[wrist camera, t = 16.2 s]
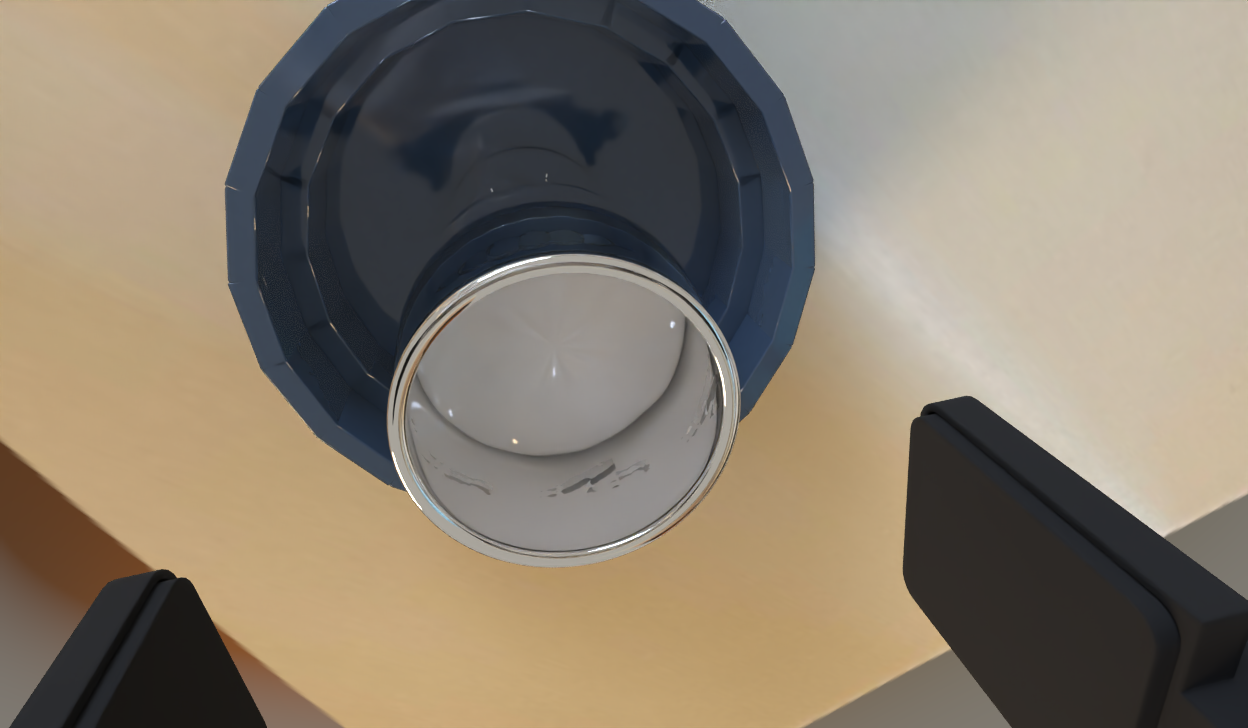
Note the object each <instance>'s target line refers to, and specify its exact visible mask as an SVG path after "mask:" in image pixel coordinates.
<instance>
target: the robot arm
mask: <svg viewBox="0 0 1248 728" xmlns="http://www.w3.org/2000/svg"><path fill="white" fill-rule="evenodd" d="M903 576H904V580H905V583H906V586H907V589H908V591H909V593H910V594H911V596H912V598H913V599H914V600H915V602H916V603H917V604H918V605H919V607H920V608H921V609H922V611H923V612H924V613H925V615H926V616H927V617H928V619H929V620H930V621H931V623H932V624H933V625H934V626H935V628H936V629H937V630H938V632H939V633H940V634H941V636H942V637H943V638H944V640H945V641H946V642H947V643H948V645H949V646H950V647H951V649H952V650H953V651H954V653H955V654H956V655H957V657H958V658H959V659H960V660H961V662H962V663H963V664H964V665H965V667H966V668H967V670H968V671H969V672H970V674H971V675H972V676H973V677H974V679H975V680H976V681H977V683H978V684H979V685H980V687H981V688H982V689H983V691H984V692H985V693H986V694H987V696H988V697H989V698H990V699H991V701H992V702H993V703H994V705H995V706H996V707H997V709H998V710H999V711H1000V713H1001V714H1002V715H1003V717H1004V718H1005V719H1006V721H1007V722H1008V723H1009V724H1010V726H1011V727H1012V728H1248V600H1246V599H1245V598H1244V597H1242V596H1241V595H1240V594H1238V593H1237V592H1236V591H1234V590H1233V589H1232V588H1230V587H1229V586H1228V585H1226V584H1225V583H1223V582H1222V581H1221V580H1219V579H1218V578H1217V577H1215V576H1214V575H1213V574H1211V573H1210V572H1209V571H1207V570H1206V569H1205V568H1203V567H1202V566H1201V565H1199V564H1198V563H1197V562H1195V561H1194V560H1192V559H1191V558H1190V557H1188V556H1187V555H1186V554H1184V553H1183V552H1182V551H1180V550H1179V549H1178V548H1176V547H1175V546H1174V545H1172V544H1171V543H1170V542H1168V541H1167V540H1166V539H1164V538H1163V537H1162V536H1160V535H1159V534H1157V533H1156V532H1155V531H1153V530H1152V529H1151V528H1149V527H1148V526H1147V525H1145V524H1144V523H1143V522H1141V521H1140V520H1139V519H1137V518H1136V517H1135V516H1133V515H1132V514H1131V513H1129V512H1128V511H1126V510H1125V509H1124V508H1122V507H1121V506H1120V505H1118V504H1117V503H1116V502H1114V501H1113V500H1112V499H1110V498H1109V497H1108V496H1106V495H1105V494H1104V493H1102V492H1101V491H1100V490H1098V489H1097V488H1095V487H1094V486H1093V485H1091V484H1090V483H1089V482H1087V481H1086V480H1085V479H1083V478H1082V477H1081V476H1079V475H1078V474H1077V473H1075V472H1074V471H1073V470H1071V469H1070V468H1069V467H1067V466H1066V465H1064V464H1063V463H1062V462H1060V461H1059V460H1058V459H1056V458H1055V457H1054V456H1052V455H1051V454H1050V453H1048V452H1047V451H1046V450H1044V449H1043V448H1042V447H1040V446H1039V445H1038V444H1036V443H1035V442H1033V441H1032V440H1031V439H1029V438H1028V437H1027V436H1025V435H1024V434H1023V433H1021V432H1020V431H1019V430H1017V429H1016V428H1015V427H1013V426H1012V425H1011V424H1009V423H1008V422H1007V421H1005V420H1004V419H1002V418H1001V417H1000V416H998V415H997V414H996V413H994V412H993V411H992V410H990V409H989V408H988V407H986V406H985V405H984V404H982V403H981V402H980V401H978V400H977V399H975V398H973V397H971V396H963V397H959V398H954V399H949V400H945V401H940V402H935V403H931V404H928V405H926V406H924V408H923V410H922V412H921V416H920V417H917V418H915V419H914V420H913V422H912V424H911V431H910V449H909V467H908V485H907V502H906V520H905V538H904V556H903ZM9 728H267V726H266V724H265V721H264V719H263V717H262V716H261V714H260V712H259V710H258V708H257V706H256V704H255V702H254V700H253V698H252V696H251V694H250V693H249V691H248V689H247V687H246V685H245V683H244V681H243V679H242V677H241V675H240V673H239V672H238V670H237V668H236V666H235V664H234V662H233V660H232V658H231V656H230V654H229V652H228V651H227V649H226V647H225V645H224V643H223V641H222V639H221V637H220V635H219V633H218V632H217V629H216V628H215V626H214V624H213V622H212V620H211V618H210V616H209V614H208V612H207V610H206V608H205V607H204V605H203V603H202V601H201V599H200V597H199V595H198V593H197V591H196V589H195V587H194V586H193V584H192V583H191V581H190V580H188V579H187V578H182V577H181V578H176V576H175V575H174V574H173V573H172V572H170V571H169V570H164V569H161V570H156V571H152V572H147V573H143V574H139V575H133V576H129V577H124V578H120V579H116V580H113V581H111V582H108V583H107V585H106V586H105V587H104V588H103V589H102V590H101V592H100V593H99V595H98V596H97V598H96V599H95V601H94V602H93V604H92V605H91V607H90V608H89V610H88V611H87V613H86V614H85V616H84V617H83V619H82V620H81V622H80V623H79V624H78V626H77V628H76V629H75V630H74V632H73V633H72V635H71V636H70V638H69V639H68V641H67V642H66V644H65V645H64V647H63V649H62V650H61V651H60V653H59V654H58V656H57V657H56V659H55V660H54V662H53V663H52V665H51V666H50V668H49V669H48V671H47V672H46V674H45V675H44V677H43V678H42V680H41V681H40V683H39V684H38V686H37V687H36V689H35V690H34V692H33V693H32V694H31V696H30V698H29V699H28V701H27V702H26V704H25V705H24V706H23V708H22V709H21V711H20V712H19V714H18V715H17V717H16V719H15V720H14V721H13V723H12V724H11V726H10V727H9Z"/></svg>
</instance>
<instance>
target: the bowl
mask: <svg viewBox="0 0 1248 728" xmlns="http://www.w3.org/2000/svg"><path fill="white" fill-rule="evenodd" d="M258 88H259V89H257V90H256V93H255V95H254V98H253V101H252V104H251V107H250V110H249V113H248V116H247V119H246V122H245V125H244V128H243V131H242V134H241V137H240V140H239V143H238V146H237V149H236V152H235V155H234V158H233V161H232V164H231V166H230V169H229V172H228V175H227V178H226V181H225V186H226V187H225V210H226V240H227V270H228V281H229V283H228V286H229V289H230V291H231V294H232V296H233V299H234V301H235V304H236V306H237V309H238V312H239V314H240V317H241V319H242V322H243V324H244V327H245V329H246V332H247V335H248V337H249V340H250V342H251V345H252V347H253V350H254V352H255V355H256V358H257V360H258V363H259V365H260V368H261V370H262V371H263V373H264V374H265V375H266V376H267V378H268V379H269V380H270V381H271V382H272V384H273V385H274V386H275V387H276V389H277V390H278V391H279V392H280V393H281V395H282V396H283V397H284V398H285V399H286V401H287V402H288V403H289V404H290V406H291V407H292V408H293V409H294V410H295V412H296V413H297V414H298V415H299V416H300V418H301V419H302V420H303V421H304V423H305V424H306V425H307V426H308V427H309V429H310V430H311V431H312V432H313V433H314V435H315V436H316V437H317V438H319V439H320V440H321V441H322V442H324V443H325V444H327V445H328V446H330V447H331V448H333V449H334V450H336V451H337V452H339V453H340V454H342V455H343V456H345V457H346V458H348V459H349V460H351V461H352V462H354V463H355V464H357V465H358V466H360V467H361V468H363V469H364V470H366V471H367V472H369V473H370V474H372V475H373V476H375V477H376V478H378V479H379V480H381V481H382V482H384V483H385V484H387V485H390V486H391V487H394V488H397V489H400V490H403V491H406V489H405V487H404V486H403V484H402V482H401V480H400V477H399V475H398V473H397V471H396V468H395V465H394V462H393V459H392V455H391V452H390V447H389V442H388V434H387V405H388V397H389V392H390V387H391V383H392V379H393V364H394V355H395V346H396V338H397V331H398V327H399V322H400V318H401V313H402V309H403V305H404V301H405V297H406V294H407V291H408V289H409V286H410V284H411V281H412V279H413V277H414V275H415V272H416V270H417V268H418V266H419V263H420V261H421V259H422V257H423V256H424V254H425V252H426V250H427V249H428V247H429V246H430V244H431V243H432V242H433V240H434V239H435V238H436V236H437V235H438V234H439V233H440V232H441V231H442V230H443V229H444V227H445V226H446V218H447V212H448V208H449V205H450V202H451V199H452V197H453V195H454V193H455V191H456V189H457V187H458V186H459V184H460V183H461V181H462V180H463V179H464V178H465V176H466V175H467V174H468V173H469V172H470V171H471V170H472V169H473V168H474V167H475V166H477V165H478V164H479V163H481V162H482V161H484V160H485V159H487V158H489V157H491V156H493V155H495V154H498V153H501V152H504V151H507V150H512V149H519V148H538V149H544V150H549V151H552V152H555V153H558V154H561V155H563V156H565V157H567V158H569V159H571V160H572V161H574V162H575V163H577V164H578V165H580V166H581V167H582V168H583V169H584V170H585V171H587V172H588V173H589V175H590V176H591V177H592V178H593V179H594V180H595V182H596V183H597V184H598V186H599V188H600V189H601V191H602V193H603V195H604V196H605V197H607V198H609V199H611V200H613V201H615V202H617V203H618V204H620V205H622V206H623V207H625V208H626V209H628V210H629V211H631V212H632V213H633V214H635V215H636V216H637V217H638V218H639V219H640V220H642V221H643V222H644V223H645V224H646V225H647V226H648V227H649V228H650V229H651V230H652V231H653V232H654V233H655V234H656V235H657V236H658V237H659V238H660V239H661V240H662V241H663V242H664V243H665V244H666V246H667V247H668V248H669V249H670V251H671V252H672V253H673V255H674V256H675V257H676V259H677V260H678V262H679V263H680V265H681V266H682V267H683V269H684V270H685V272H686V273H687V275H688V276H689V278H690V279H691V281H692V283H693V285H694V286H695V288H696V290H697V292H698V294H699V295H700V297H701V299H702V301H703V303H704V304H705V306H706V308H707V310H708V312H709V314H710V316H711V317H712V318H713V320H714V321H715V323H716V324H717V326H718V327H719V329H720V330H721V332H722V334H723V335H724V337H725V339H726V341H727V343H728V345H729V348H730V350H731V353H732V356H733V358H734V362H735V365H736V369H737V373H738V378H739V385H740V401H741V404H740V419H739V422H740V421H741V420H742V419H744V418H745V417H746V416H747V415H748V414H749V412H750V411H751V410H752V409H753V407H754V405H755V404H756V402H757V401H758V399H759V398H760V396H761V394H762V393H763V391H764V390H765V388H766V387H767V385H768V384H769V382H770V380H771V379H772V377H773V376H774V374H775V373H776V371H777V369H778V368H779V366H780V365H781V363H782V362H783V360H784V358H785V357H786V355H787V354H788V352H789V351H790V349H791V347H792V346H791V345H793V343H794V339H795V336H796V332H797V329H798V325H799V322H800V318H801V315H802V312H803V308H804V305H805V301H806V298H807V294H808V291H809V287H810V284H811V281H812V277H813V274H814V270H815V268H814V267H815V237H814V184H813V177H812V174H811V172H810V169H809V166H808V163H807V160H806V157H805V154H804V151H803V148H802V145H801V142H800V140H799V137H798V134H797V131H796V128H795V125H794V122H793V119H792V116H791V113H790V110H789V108H788V105H787V102H786V99H785V97H784V95H783V93H782V92H781V90H780V89H779V88H778V86H777V85H776V84H775V83H774V81H773V80H772V79H771V77H770V76H769V75H768V74H767V72H766V71H765V70H764V68H763V67H762V66H761V64H760V63H759V62H758V61H757V59H756V58H755V57H754V55H753V54H752V53H751V52H750V50H749V49H748V48H747V46H746V45H745V44H744V42H743V41H742V40H741V39H740V37H739V36H738V35H737V33H736V32H735V31H734V30H733V28H732V27H731V26H730V24H729V23H728V22H727V20H725V19H724V18H723V17H722V16H720V15H719V14H717V13H716V12H714V11H713V10H711V9H709V8H708V7H706V6H705V5H703V4H702V3H700V2H699V1H697V0H335V1H333V2H332V3H330V4H328V5H327V7H325V8H324V9H323V10H322V11H321V12H320V13H319V15H318V16H317V17H316V18H315V19H314V21H313V22H312V23H311V24H310V25H309V27H308V28H307V29H306V30H305V31H304V33H303V34H302V35H301V36H300V37H299V39H298V40H297V41H296V42H295V43H294V45H293V46H292V47H291V48H290V49H289V50H288V52H287V53H286V54H285V55H284V56H283V58H282V59H281V60H280V61H279V62H278V64H277V65H276V66H275V67H274V68H273V70H272V71H271V72H270V73H269V74H268V76H267V77H266V78H265V79H264V80H263V82H262V83H261V84H260V85H259V87H258ZM406 492H407V491H406Z"/></svg>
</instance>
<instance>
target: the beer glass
mask: <svg viewBox="0 0 1248 728" xmlns="http://www.w3.org/2000/svg"><path fill="white" fill-rule="evenodd" d="M740 404H741V401H740V385H739V378H738V373H737V369H736V365H735V362H734V358H733V356H732V353H731V350H730V348H729V345H728V343H727V341H726V339H725V337H724V335H723V334H722V332H721V330H720V329H719V327H718V326H717V324H716V323H715V321H714V320H713V318H712V317H711V316H710V314H709V312H708V310H707V308H706V306H705V304H704V303H703V301H702V299H701V297H700V295H699V294H698V292H697V290H696V288H695V286H694V285H693V283H692V281H691V279H690V278H689V276H688V275H687V273H686V272H685V270H684V269H683V267H682V266H681V265H680V263H679V262H678V260H677V259H676V257H675V256H674V255H673V253H672V252H671V251H670V249H669V248H668V247H667V246H666V244H665V243H664V242H663V241H662V240H661V239H660V238H659V237H658V236H657V235H656V234H655V233H654V232H653V231H652V230H651V229H650V228H649V227H648V226H647V225H646V224H645V223H644V222H643V221H642V220H640V219H639V218H638V217H637V216H636V215H635V214H633V213H632V212H631V211H629V210H628V209H626V208H625V207H623V206H622V205H620V204H618V203H617V202H615V201H613V200H611V199H609V198H607V197H605V196H604V195H603V193H602V191H601V189H600V188H599V186H598V184H597V183H596V182H595V180H594V179H593V178H592V177H591V176H590V175H589V173H588V172H587V171H585V170H584V169H583V168H582V167H581V166H580V165H578V164H577V163H575V162H574V161H572V160H571V159H569V158H567V157H565V156H563V155H561V154H558V153H555V152H552V151H549V150H544V149H538V148H519V149H512V150H507V151H504V152H501V153H498V154H495V155H493V156H491V157H489V158H487V159H485V160H484V161H482V162H481V163H479V164H478V165H477V166H475V167H474V168H473V169H472V170H471V171H470V172H469V173H468V174H467V175H466V176H465V178H464V179H463V180H462V181H461V183H460V184H459V186H458V187H457V189H456V191H455V193H454V195H453V197H452V199H451V202H450V205H449V208H448V212H447V218H446V226H445V227H444V229H443V230H442V231H441V232H440V233H439V234H438V235H437V236H436V238H435V239H434V240H433V242H432V243H431V244H430V246H429V247H428V249H427V250H426V252H425V254H424V256H423V257H422V259H421V261H420V263H419V266H418V268H417V270H416V272H415V275H414V277H413V279H412V281H411V284H410V286H409V289H408V291H407V294H406V297H405V301H404V305H403V309H402V313H401V318H400V322H399V327H398V331H397V338H396V346H395V355H394V364H393V379H392V383H391V387H390V392H389V397H388V405H387V434H388V442H389V447H390V452H391V455H392V459H393V462H394V465H395V468H396V471H397V473H398V475H399V477H400V480H401V482H402V484H403V486H404V487H405V489H406V491H407V492H408V494H409V496H410V497H411V498H412V500H413V501H414V503H415V504H416V505H417V507H418V508H419V509H420V510H421V511H422V513H423V514H424V515H425V516H426V517H427V518H428V519H429V520H430V521H431V522H432V523H433V524H435V525H436V526H437V527H438V528H439V529H440V530H442V531H443V532H444V533H446V534H447V535H448V536H450V537H451V538H453V539H454V540H456V541H458V542H459V543H461V544H463V545H464V546H466V547H468V548H470V549H472V550H474V551H476V552H479V553H481V554H484V555H486V556H489V557H492V558H494V559H498V560H501V561H505V562H509V563H513V564H518V565H524V566H531V567H545V568H564V567H576V566H583V565H589V564H594V563H599V562H603V561H607V560H610V559H614V558H617V557H620V556H623V555H625V554H628V553H630V552H633V551H635V550H637V549H639V548H641V547H643V546H646V545H647V544H649V543H651V542H653V541H655V540H656V539H658V538H660V537H661V536H663V535H664V534H666V533H667V532H669V531H670V530H671V529H673V528H674V527H675V526H677V525H678V524H679V523H680V522H682V521H683V520H684V519H685V518H686V517H687V516H688V515H689V514H690V513H691V512H692V511H693V510H694V509H695V508H696V507H697V506H698V505H699V504H700V503H701V502H702V501H703V499H704V498H705V497H706V496H707V494H708V493H709V492H710V490H711V489H712V488H713V486H714V485H715V483H716V482H717V480H718V479H719V477H720V475H721V473H722V471H723V470H724V468H725V466H726V464H727V461H728V459H729V457H730V454H731V452H732V449H733V446H734V443H735V439H736V435H737V431H738V426H739V419H740Z"/></svg>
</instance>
